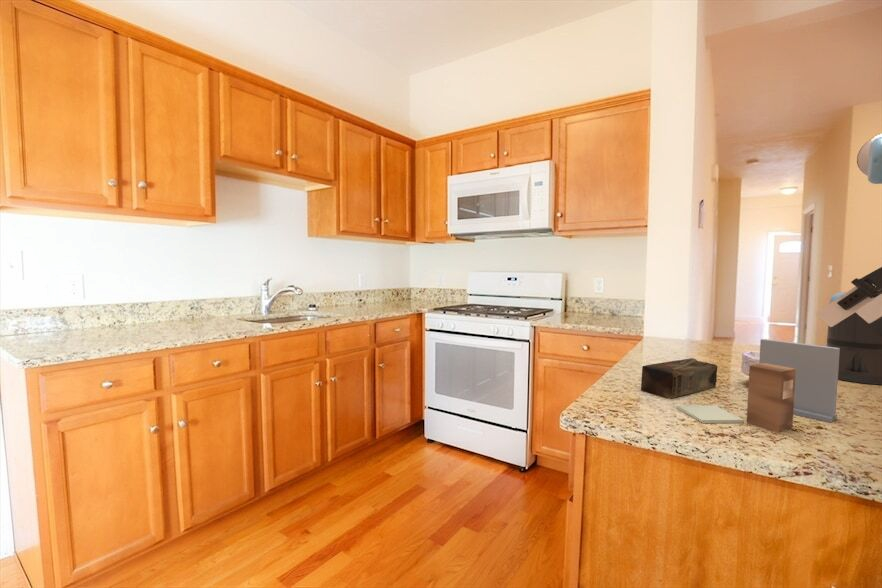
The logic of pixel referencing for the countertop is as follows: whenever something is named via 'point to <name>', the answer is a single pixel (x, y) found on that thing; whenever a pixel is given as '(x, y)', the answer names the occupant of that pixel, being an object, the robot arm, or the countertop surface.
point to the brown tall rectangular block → (771, 396)
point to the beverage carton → (678, 377)
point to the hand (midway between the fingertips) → (843, 318)
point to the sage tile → (709, 414)
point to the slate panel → (807, 375)
